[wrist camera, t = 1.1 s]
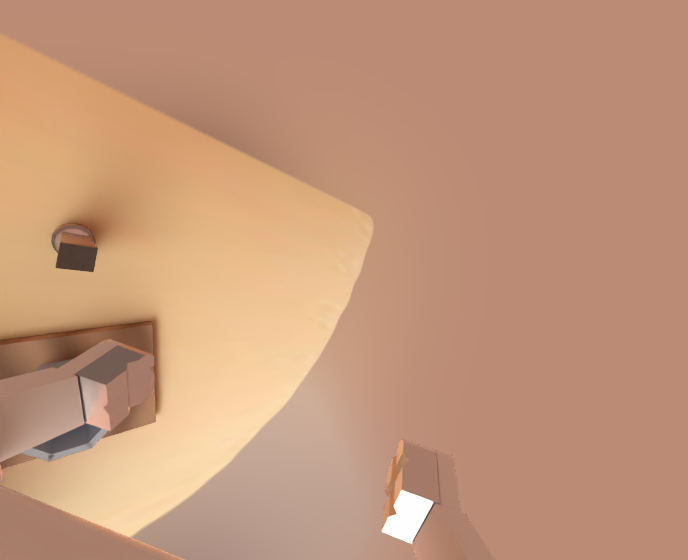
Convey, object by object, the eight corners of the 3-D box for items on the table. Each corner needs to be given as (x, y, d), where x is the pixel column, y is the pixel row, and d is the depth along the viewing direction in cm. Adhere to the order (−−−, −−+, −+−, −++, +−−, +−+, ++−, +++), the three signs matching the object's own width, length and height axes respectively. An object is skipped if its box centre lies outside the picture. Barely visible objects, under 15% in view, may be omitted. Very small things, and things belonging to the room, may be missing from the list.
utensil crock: (19, 440, 41) (14, 472, 36) (10, 369, 39) (3, 394, 34) (113, 414, 47) (119, 439, 42) (109, 352, 45) (115, 371, 40)
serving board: (-37, 472, 39) (-40, 481, 38) (-60, 348, 36) (-64, 353, 35) (153, 416, 52) (155, 421, 51) (150, 321, 48) (152, 324, 47)
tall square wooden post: (91, 257, 42) (99, 280, 33) (49, 252, 40) (45, 275, 30) (96, 227, 42) (106, 241, 32) (54, 219, 39) (52, 232, 30)
